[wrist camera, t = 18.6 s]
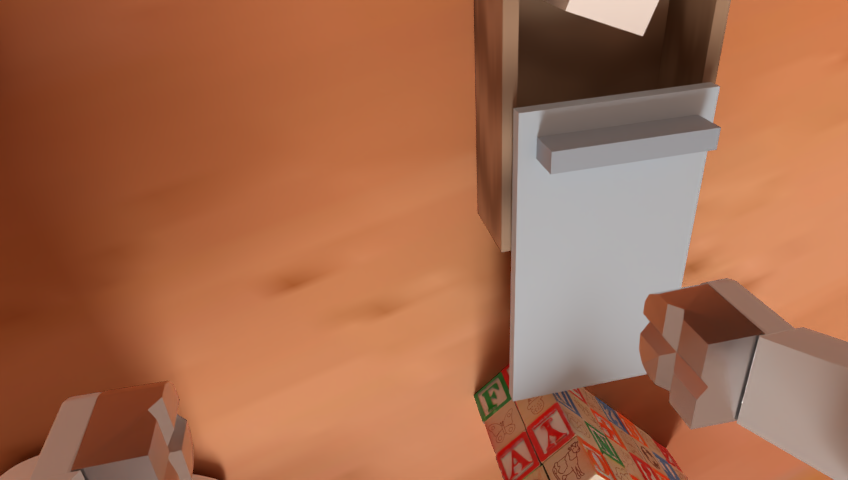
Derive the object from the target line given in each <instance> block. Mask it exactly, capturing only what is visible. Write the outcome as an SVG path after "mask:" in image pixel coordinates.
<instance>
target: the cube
mask: <svg viewBox="0 0 848 480" xmlns="http://www.w3.org/2000/svg"><path fill="white" fill-rule="evenodd" d="M543 1H545V2H547V3H550V4H552V5H554V6H556V7H558V8H560V9H562V10H565V11H567V12H570V13H573V14H576V15H579V16H582V17H586V18H589V19H592V20H595V21H598V22H601V23H604V24H607V25H610V26H613V27H616V28H619V29H622V30H625V31H628V32H631V33H634V34H637V35H640V36H643V35H644V33H645V30H646V28H647V26H648V24H649V22H650V19H651V17H652V15H653V13H654V11H655V8H656V6H657V4H658V2H659V0H543Z"/></svg>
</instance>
